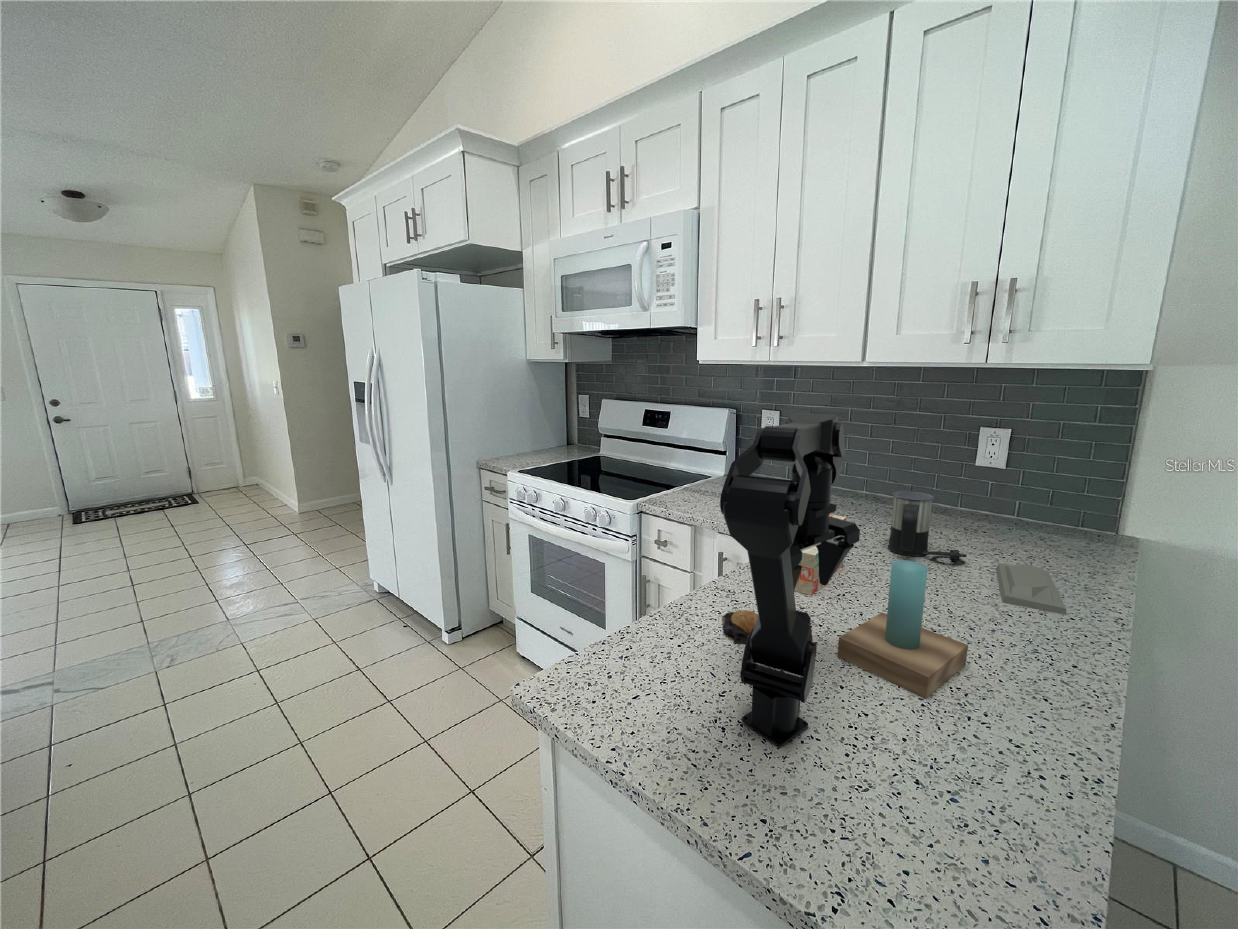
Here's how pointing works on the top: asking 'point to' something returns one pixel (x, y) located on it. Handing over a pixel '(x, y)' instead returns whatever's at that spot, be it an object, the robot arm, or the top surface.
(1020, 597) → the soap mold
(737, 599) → the top surface
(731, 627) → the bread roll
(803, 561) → the stack of blocks
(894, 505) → the milk frother
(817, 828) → the top surface
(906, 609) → the teal post
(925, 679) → the walnut plinth
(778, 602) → the robot arm
